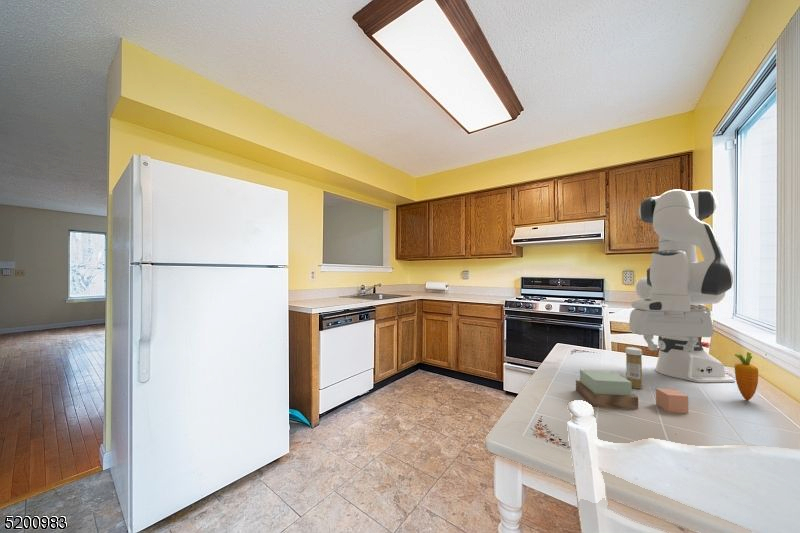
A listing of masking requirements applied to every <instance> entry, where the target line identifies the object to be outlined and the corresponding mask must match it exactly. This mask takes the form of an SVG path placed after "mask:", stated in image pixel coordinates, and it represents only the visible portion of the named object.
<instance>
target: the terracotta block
mask: <svg viewBox="0 0 800 533" xmlns="http://www.w3.org/2000/svg"><path fill="white" fill-rule="evenodd" d="M655 405H656V406H658V407H659V406H660V408H661V409H663V410H664V409H665V410H664V411H666V412H667V413H673V412H678V413H677V414H689V395H686V394H685V393H684V392H683V393H682V392H681V391H678V390H677V389H674V388H660V387H659V388H658V387H656V388H655Z"/></svg>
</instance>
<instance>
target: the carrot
mask: <svg viewBox="0 0 800 533" xmlns="http://www.w3.org/2000/svg"><path fill="white" fill-rule="evenodd" d="M734 356H735V357H736V358H738V359H739V360H740V361H741V362H738V363H735V365H734V374H735V382H736V385H737V387H738V388H737V389H738V390H739V392H740V394H741V395H742V396H741V397H742V398H743V399H744V400H745V401H749V400H751V399H752V398H753V397H754V395H755V394H756V393H757V392H756V391H757V389H758V383H759V369H758V368H757V366H755V365H753V364H750V363H751V359H752V358H753V355H752V353H751V352H749V351H747V352H746V358H745V357H744V356H743V355H742V354H741V353H739V354H737V353H735V354H734Z"/></svg>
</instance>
